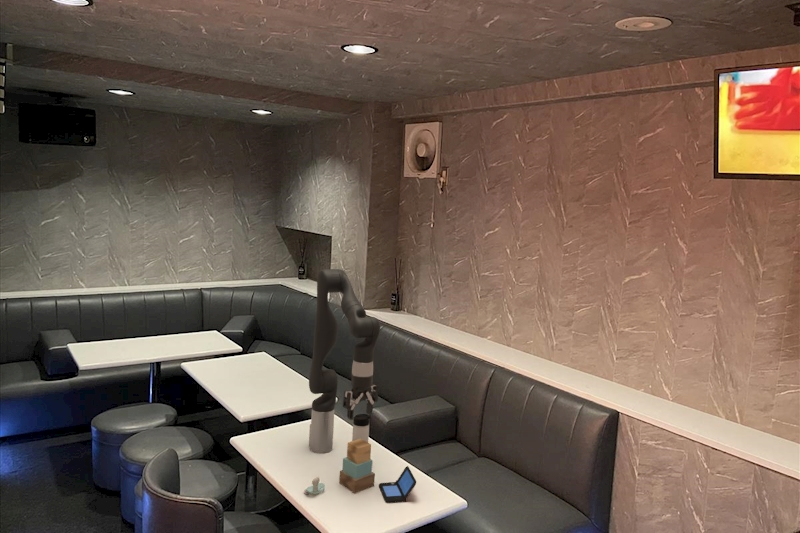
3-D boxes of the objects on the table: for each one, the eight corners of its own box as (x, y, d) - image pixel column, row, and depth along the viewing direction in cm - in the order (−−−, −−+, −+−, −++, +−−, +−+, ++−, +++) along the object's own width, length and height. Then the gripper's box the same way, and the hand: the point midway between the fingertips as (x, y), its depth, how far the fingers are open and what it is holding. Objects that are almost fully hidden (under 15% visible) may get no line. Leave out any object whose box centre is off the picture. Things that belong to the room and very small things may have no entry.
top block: (342, 471, 204) (343, 458, 203) (358, 465, 209) (358, 452, 208) (355, 479, 198) (356, 466, 198) (371, 473, 204) (372, 460, 203)
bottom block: (339, 483, 204) (339, 470, 204) (358, 476, 211) (359, 464, 210) (354, 494, 198) (355, 480, 197) (374, 486, 204) (374, 473, 203)
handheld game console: (378, 486, 205) (379, 466, 204) (406, 484, 207) (407, 465, 206) (385, 504, 193) (386, 483, 192) (415, 502, 195) (417, 481, 194)
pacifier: (299, 492, 196) (310, 499, 192) (300, 475, 196) (311, 481, 192) (315, 486, 202) (326, 491, 198) (316, 469, 201) (327, 474, 197)
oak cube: (346, 458, 203) (347, 442, 203) (359, 454, 207) (360, 438, 207) (357, 464, 199) (358, 448, 198) (370, 460, 203) (371, 444, 202)
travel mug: (365, 469, 216) (368, 419, 214) (348, 466, 218) (351, 417, 215) (369, 462, 222) (372, 413, 220) (353, 459, 224) (356, 411, 221)
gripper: (370, 366, 207) (368, 409, 209) (339, 373, 197) (337, 417, 199) (384, 372, 201) (381, 415, 203) (353, 379, 192) (350, 424, 194)
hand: (359, 416), depth 201 cm, fingers open, 8 cm apart
